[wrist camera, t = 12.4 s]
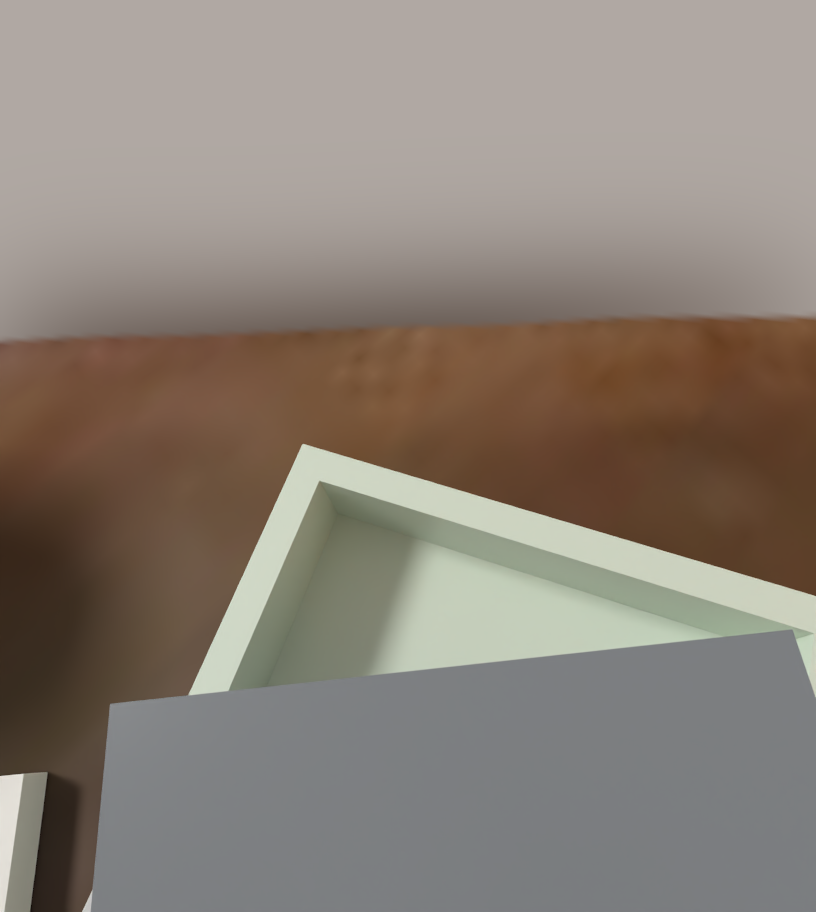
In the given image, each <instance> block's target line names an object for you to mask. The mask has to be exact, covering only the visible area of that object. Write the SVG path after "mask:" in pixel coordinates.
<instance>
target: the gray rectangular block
mask: <svg viewBox="0 0 816 912" xmlns="http://www.w3.org/2000/svg"><path fill="white" fill-rule="evenodd" d="M91 912H816V697H815V694H814V691H813V688H812V685H811V682H810V679H809V676H808V674H807V671H806V668H805V665H804V662H803V659H802V656H801V653H800V650H799V647H798V644H797V641H796V638H795V635H794V632H793V630H792V629H791V630H782V631H773V632H764V633H754V634H745V635H736V636H727V637H718V638H709V639H700V640H690V641H681V642H672V643H663V644H654V645H645V646H636V647H626V648H617V649H608V650H599V651H590V652H581V653H572V654H562V655H553V656H544V657H535V658H526V659H517V660H508V661H498V662H489V663H480V664H471V665H462V666H453V667H444V668H434V669H425V670H416V671H407V672H398V673H389V674H380V675H370V676H361V677H352V678H343V679H334V680H325V681H316V682H306V683H297V684H288V685H279V686H270V687H261V688H252V689H242V690H233V691H224V692H215V693H206V694H197V695H188V696H178V697H169V698H160V699H151V700H142V701H133V702H124V703H114V704H110V712H109V723H108V733H107V744H106V754H105V765H104V775H103V786H102V797H101V807H100V818H99V828H98V839H97V850H96V860H95V871H94V881H93V892H92V902H91Z"/></svg>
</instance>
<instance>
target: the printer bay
mask: <svg viewBox="0 0 816 912" xmlns="http://www.w3.org/2000/svg"><path fill="white" fill-rule="evenodd" d="M47 774H48V772H40V773H27V774H16V775H7V776H0V912H30V908H31V900H32V892H33V884H34V877H35V869H36V861H37V853H38V845H39V837H40V829H41V821H42V814H43V806H44V798H45V790H46V782H47Z"/></svg>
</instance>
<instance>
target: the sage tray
mask: <svg viewBox="0 0 816 912" xmlns="http://www.w3.org/2000/svg"><path fill="white" fill-rule="evenodd" d="M791 629H792V630H793V632H794V635H795V638H796V641H797V644H798V647H799V650H800V653H801V656H802V659H803V662H804V665H805V668H806V671H807V674H808V676H809V679H810V682H811V685H812V688H813V691H814V694H815V697H816V596H813V595H810V594H806V593H803V592H800V591H796V590H793V589H790V588H786V587H783V586H779V585H776V584H773V583H769V582H766V581H763V580H759V579H756V578H753V577H749V576H746V575H742V574H739V573H736V572H732V571H729V570H726V569H722V568H719V567H716V566H712V565H709V564H705V563H702V562H699V561H695V560H692V559H689V558H685V557H682V556H678V555H675V554H672V553H668V552H665V551H662V550H658V549H655V548H652V547H648V546H645V545H641V544H638V543H635V542H631V541H628V540H625V539H621V538H618V537H614V536H611V535H608V534H604V533H601V532H598V531H594V530H591V529H588V528H584V527H581V526H577V525H574V524H571V523H567V522H564V521H561V520H557V519H554V518H550V517H547V516H544V515H540V514H537V513H534V512H530V511H527V510H524V509H520V508H517V507H513V506H510V505H507V504H503V503H500V502H497V501H493V500H490V499H487V498H483V497H480V496H476V495H473V494H470V493H466V492H463V491H460V490H456V489H453V488H449V487H446V486H443V485H439V484H436V483H433V482H429V481H426V480H423V479H419V478H416V477H412V476H409V475H406V474H402V473H399V472H396V471H392V470H389V469H385V468H382V467H379V466H375V465H372V464H369V463H365V462H362V461H359V460H355V459H352V458H348V457H345V456H342V455H338V454H335V453H332V452H328V451H325V450H321V449H318V448H315V447H311V446H308V445H305V444H303V445H302V447H301V449H300V451H299V453H298V456H297V458H296V460H295V462H294V464H293V467H292V469H291V471H290V473H289V475H288V478H287V480H286V482H285V484H284V486H283V489H282V491H281V493H280V495H279V497H278V500H277V502H276V504H275V506H274V508H273V511H272V513H271V515H270V517H269V519H268V522H267V524H266V526H265V528H264V530H263V533H262V535H261V537H260V539H259V541H258V544H257V546H256V548H255V550H254V552H253V555H252V557H251V559H250V561H249V563H248V566H247V568H246V570H245V572H244V574H243V577H242V579H241V581H240V583H239V585H238V588H237V590H236V592H235V594H234V596H233V598H232V601H231V603H230V605H229V607H228V609H227V612H226V614H225V616H224V618H223V620H222V623H221V625H220V627H219V629H218V631H217V634H216V636H215V638H214V640H213V642H212V645H211V647H210V649H209V651H208V653H207V656H206V658H205V660H204V662H203V664H202V667H201V669H200V671H199V673H198V675H197V678H196V680H195V682H194V684H193V686H192V689H191V691H190V693H189V695H197V694H206V693H215V692H224V691H233V690H242V689H252V688H261V687H270V686H279V685H288V684H297V683H306V682H316V681H325V680H334V679H343V678H352V677H361V676H370V675H380V674H389V673H398V672H407V671H416V670H425V669H434V668H444V667H453V666H462V665H471V664H480V663H489V662H498V661H508V660H517V659H526V658H535V657H544V656H553V655H562V654H572V653H581V652H590V651H599V650H608V649H617V648H626V647H636V646H645V645H654V644H663V643H672V642H681V641H690V640H700V639H709V638H718V637H727V636H736V635H745V634H754V633H764V632H773V631H782V630H791Z"/></svg>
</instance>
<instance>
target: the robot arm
mask: <svg viewBox="0 0 816 912" xmlns="http://www.w3.org/2000/svg"><path fill="white" fill-rule="evenodd" d="M92 892H93V890H92ZM92 892H91V894H90V896H89V899H88V901H87V903H86V905H85V907H84V909H83V911H82V912H91V902H92Z"/></svg>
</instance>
